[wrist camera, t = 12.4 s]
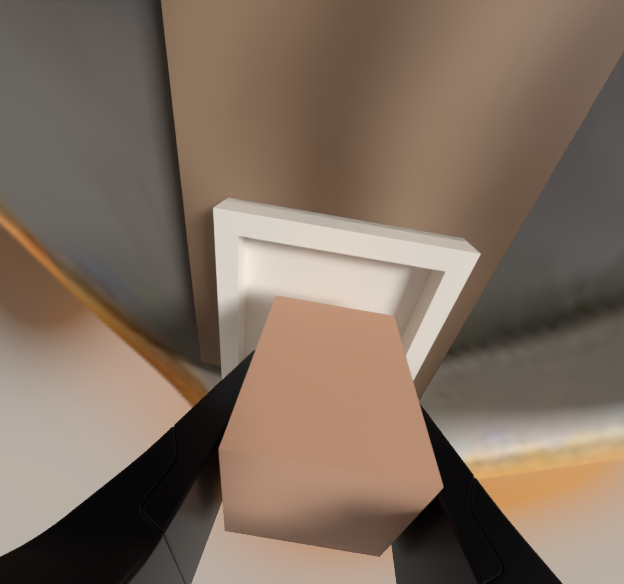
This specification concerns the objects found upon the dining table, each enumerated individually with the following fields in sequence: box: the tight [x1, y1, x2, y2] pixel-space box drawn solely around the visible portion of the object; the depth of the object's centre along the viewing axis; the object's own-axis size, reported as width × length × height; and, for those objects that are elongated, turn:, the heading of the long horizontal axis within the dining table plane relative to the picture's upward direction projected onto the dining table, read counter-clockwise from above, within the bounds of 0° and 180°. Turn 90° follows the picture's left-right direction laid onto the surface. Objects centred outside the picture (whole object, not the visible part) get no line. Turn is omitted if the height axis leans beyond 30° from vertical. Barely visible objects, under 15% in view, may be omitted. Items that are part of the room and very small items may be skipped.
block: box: [219, 296, 444, 557], centre depth 8 cm, size 4×4×5 cm
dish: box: [213, 197, 481, 380], centre depth 11 cm, size 9×9×1 cm
